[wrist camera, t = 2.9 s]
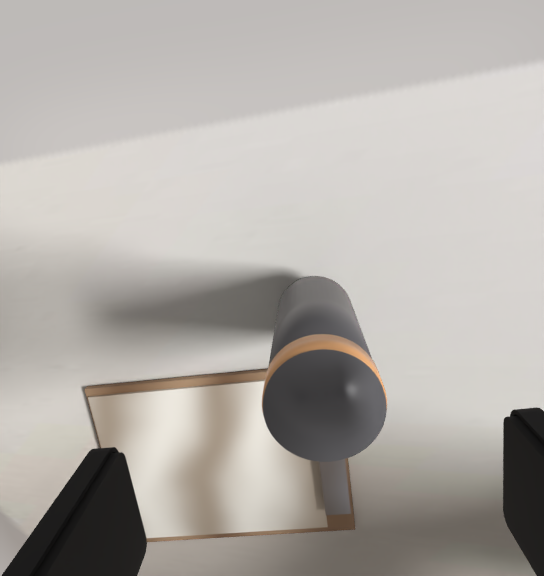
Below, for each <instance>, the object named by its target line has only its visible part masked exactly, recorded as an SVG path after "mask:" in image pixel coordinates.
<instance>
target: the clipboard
mask: <svg viewBox="0 0 544 576" xmlns="http://www.w3.org/2000/svg"><path fill="white" fill-rule="evenodd" d="M267 370H268V369H261V370H251V371H240V372H230V373H220V374H209V375H199V376H189V377H178V378H168V379H158V380H148V381H137V382H127V383H117V384H106V385H96V386H87V387H86V388H85V393H86V397H87V401H88V404H89V408H90V412H91V415H92V419H93V423H94V427H95V430H96V434H97V438H98V442H99V445H100V448H109V447H115V448H117V450H118V452H122V453H124V455H125V457H126V461H127V465H128V468H129V472H130V476H131V480H132V484H133V488H134V492H135V495H136V499H137V503H138V507H139V511H140V515H141V518H142V522H143V526H144V530H145V534H146V539H147V542H155V541H171V540H188V539H204V538H221V537H237V536H254V535H271V534H287V533H304V532H320V531H337V530H353V529H355V522H354V513H353V503H352V494H351V484H350V475H349V465H348V458H346V459H343V460H339V461H332V462H319V461H312V460H307V459H304V458H301V457H298V456H296V455H294V454H292V453H291V452H289V451H287V450H286V449H285V448H283V447H282V446H281V445H280V444H279V443H278V442H277V441H276V440H275V439H274V437H273V436H272V435H271V433H270V431H269V430H268V428H267V425H266V423H265V419H264V416H263V412H262V395H263V389H264V383H265V377H266V373H267Z"/></svg>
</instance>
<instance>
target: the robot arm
mask: <svg viewBox="0 0 544 576" xmlns="http://www.w3.org/2000/svg"><path fill="white" fill-rule="evenodd" d="M503 512H504V517H505V521H506V523H507V526H508V528H509V529H510V531H511V533H512V534H513V536H514V538H515V540H516V541H517V543H518V545H519V546H520V548H521V550H522V551H523V553H524V555H525V556H526V558H527V560H528V561H529V563H530V565H531V566H532V568H533V570H534V572H535V573H536V575H537V576H544V411H543V410H542V409H540V408H528V409H517V410H513V411H512V412H511V414H510V417H505V419H504V448H503ZM146 547H147V539H146V534H145V530H144V526H143V522H142V518H141V515H140V511H139V507H138V503H137V499H136V495H135V492H134V488H133V484H132V480H131V476H130V472H129V468H128V465H127V461H126V457H125V455H124V453H122V452H118V450H117V448H115V447H109V448H98V449H92V450H91V451H90V452H89V453H88V454H87V456H86V457H85V458H84V460H83V461H82V463H81V464H80V465H79V467H78V468H77V470H76V471H75V473H74V474H73V475H72V477H71V478H70V480H69V481H68V482H67V484H66V485H65V487H64V488H63V490H62V491H61V492H60V494H59V495H58V497H57V498H56V499H55V501H54V502H53V504H52V505H51V507H50V508H49V509H48V511H47V512H46V514H45V515H44V516H43V518H42V519H41V521H40V522H39V524H38V525H37V526H36V528H35V529H34V531H33V532H32V533H31V535H30V536H29V538H28V539H27V541H26V542H25V544H24V545H23V546H22V548H21V549H20V550H19V552H18V553H17V555H16V556H15V558H14V559H13V560H12V562H11V563H10V565H9V566H8V567H7V569H6V570H5V572H4V573H3V574H2V576H137V574H138V572H139V569H140V566H141V564H142V561H143V558H144V556H145V552H146Z"/></svg>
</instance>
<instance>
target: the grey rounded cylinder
mask: <svg viewBox="0 0 544 576" xmlns="http://www.w3.org/2000/svg"><path fill="white" fill-rule="evenodd" d="M386 410H387V398H386V392H385V389H384V385H383V383H382V380H381V378H380V375H379V372H378V370H377V367H376V365H375V363H374V362H373V360H372V358H371V355H370V352H369V350H368V347H367V344H366V342H365V339H364V336H363V334H362V331H361V328H360V325H359V323H358V320H357V317H356V315H355V312H354V309H353V307H352V304H351V301H350V299H349V297H348V295H347V293H346V291H345V290H344V289H343V288H342V287H341V286H340V285H339V284H338V283H336V282H335V281H333V280H331V279H328V278H325V277H320V276H310V277H305V278H302V279H300V280H297V281H296V282H294V283H292V284H291V285H290V286H289V287H288V288H287V289H286V290H285V292H284V293H283V295H282V297H281V299H280V302H279V306H278V312H277V318H276V324H275V330H274V336H273V342H272V349H271V355H270V361H269V367H268V370H267V373H266V377H265V383H264V389H263V395H262V412H263V416H264V419H265V423H266V425H267V428H268V430H269V431H270V433H271V435H272V436H273V437H274V439H275V440H276V441H277V442H278V443H279V444H280V445H281V446H282V447H283V448H285V449H286V450H287V451H289V452H291V453H292V454H294V455H296V456H298V457H301V458H304V459H307V460H312V461H319V462H332V461H339V460H343V459H346V458H349V457H352V456H354V455H356V454H358V453H360V452H361V451H362V450H364V449H365V448H367V447H368V446H369V445H370V444H371V443H372V442H373V441H374V440H375V438H376V437H377V436H378V434H379V433H380V431H381V429H382V427H383V424H384V421H385V417H386Z"/></svg>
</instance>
